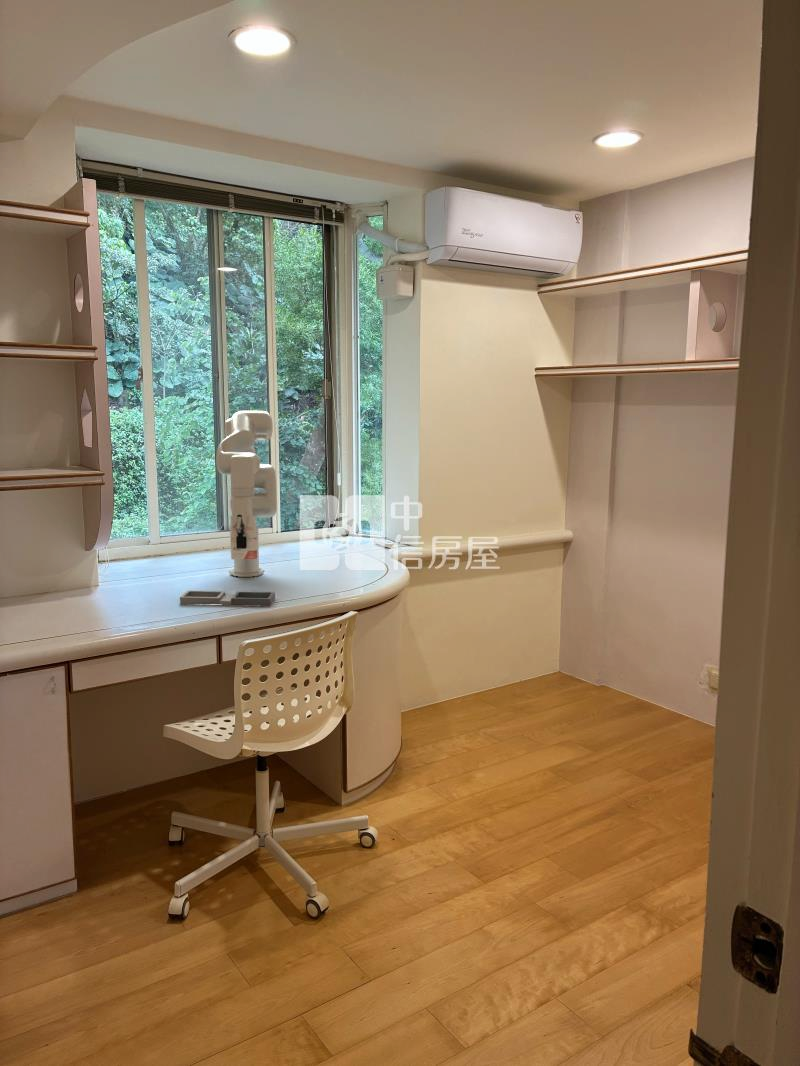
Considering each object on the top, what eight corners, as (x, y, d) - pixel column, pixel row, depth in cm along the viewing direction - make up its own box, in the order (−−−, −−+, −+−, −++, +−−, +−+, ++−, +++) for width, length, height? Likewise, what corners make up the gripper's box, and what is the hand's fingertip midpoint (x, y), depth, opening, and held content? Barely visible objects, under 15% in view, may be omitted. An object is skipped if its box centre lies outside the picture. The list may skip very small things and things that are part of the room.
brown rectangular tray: (187, 597, 272) (187, 590, 271) (225, 598, 272) (225, 591, 271) (180, 604, 263) (179, 597, 263) (219, 605, 263) (218, 598, 262)
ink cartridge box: (257, 556, 268) (256, 512, 265) (257, 559, 263) (256, 515, 260) (231, 556, 266) (230, 513, 263) (230, 559, 261) (229, 515, 259)
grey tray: (225, 598, 272) (225, 591, 271) (275, 599, 271) (274, 592, 271) (219, 605, 263) (218, 598, 262) (270, 606, 262) (270, 599, 262)
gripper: (237, 488, 269) (238, 541, 272) (224, 495, 252) (226, 551, 255) (259, 489, 269) (260, 541, 272) (248, 496, 252) (249, 552, 255)
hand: (243, 545), depth 264 cm, fingers closed on ink cartridge box, 5 cm apart
